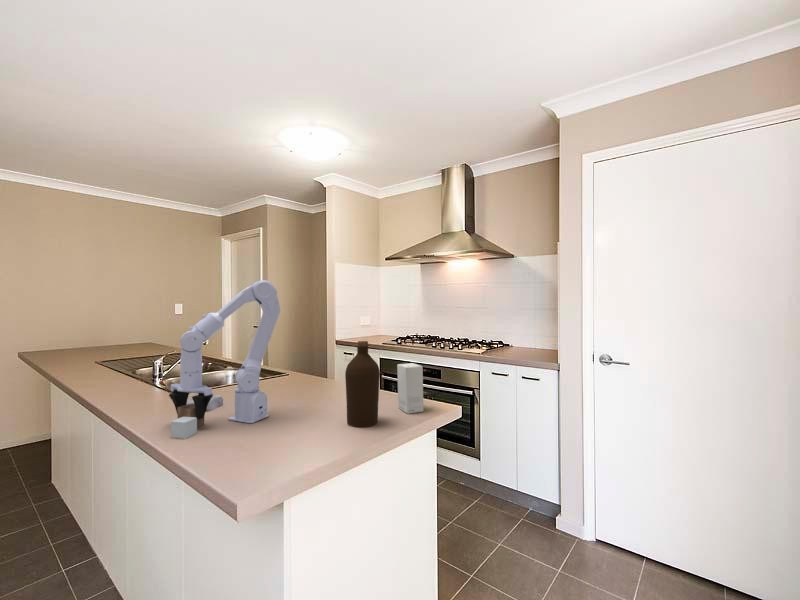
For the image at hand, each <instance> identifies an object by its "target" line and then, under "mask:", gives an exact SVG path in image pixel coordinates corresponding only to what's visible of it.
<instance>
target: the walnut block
mask: <svg viewBox="0 0 800 600" xmlns="http://www.w3.org/2000/svg"><path fill="white" fill-rule="evenodd" d="M181 417H196V410H195V404H194V403H191V404H187V405H184V406H180V407H178V415H177V419H178V418H181ZM204 425H205V417H204V418H202V419H199V420H197V428H198V427H201V426H204Z"/></svg>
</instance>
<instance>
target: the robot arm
mask: <svg viewBox="0 0 800 600" xmlns="http://www.w3.org/2000/svg"><path fill="white" fill-rule="evenodd" d="M251 302H257V303H258V304H259V307H260V308H261V310H262V315H261V318H260V320H259V323H258V326H257V328H256V331H255V334H254V336H253V339H252V341H251V344H250V346H249V349H248V353H247V355H246V358H245V359H244V360H243V362H242V365H241V367H240V368H239V369H237V370H236V372H235V375H234V380H235V382H236V384H237V386H236V387H235V388H234V415H233V416H230V417H228V418H227V419H228V420H229V421H234V422H240V423H248V424H253V423H256V422H259V421H260V420H263V419H265V418H267V417H270V414H268V397H267V396H268V395H267V394H266V393H265V392H264V391H261V390H260V386H259V385H260V382H261V381H260V380H261V378H260V373H261V370H262V363H263V359H264V357H265V354H266V352H267V349H268V346H269V342H270V341H271V337H272V335H273V333H274V332H273V331H274V329H275V327H276V325H277V321H278V319H279V315H280V312H281V306H280V302H279V296H278V291H277V289H276V288H275V286H274V285H273V283H272V282H271V281H269V280H266V279H263V280H261V279H260V280H258V281H254V282H253V283H251V285H249V286H247V287H245V288H243V290H240V291H239V292H238V293H237V294H236V295H235V296H234V297H233V298H231V299H230V300H229V301H228V302H227V303H226V304H224V306H223V307H221V308H220V309H218V311H217V312H209V313H207V314H206V313H204V314H203V315H202V316H201V317H202V319H201V320H199V321H198V322H196V323H195V324H194V325H190V326H189V330H188V331H186V332H184V333H183V334H181V337H180V340H179V343H180V347H181V350H180V358H179V360H180V361H179V363H180V364H179V378H180V379H179V383H173V384H172V383H171V384H170V391H171V393H169V394H168V397H169V398H170V399H171V401H172V403H173V405H174V408H175V411H176V414H177V416H178V407H180V406H184V405H187V399H188V397H189V395H190V393H191V394H196V395H193V396H191V397H192V399H193V401H194V404H195V410H196V418H197V420H199V419H202V418H204V419H205V414H206V412H207V411H206V408H207V406H208V403H209V401H210V400H211V398H212V396H213V395H214V394H213V388H212V387H210V386H207V385H205V384H203V355H202V346H203V345H204V341H209V339H211V338H212V337H213V336H214V335H215V334H217V332H218V331H220V330H221V329H222V328H223V327H225V320H226V319H227V318H228V317H229V316H231V315H232V314H233V313H235V312H236V311H237V310H238V309H240V308H241V307H243V306H244V305H245V304H248V303H251Z"/></svg>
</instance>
